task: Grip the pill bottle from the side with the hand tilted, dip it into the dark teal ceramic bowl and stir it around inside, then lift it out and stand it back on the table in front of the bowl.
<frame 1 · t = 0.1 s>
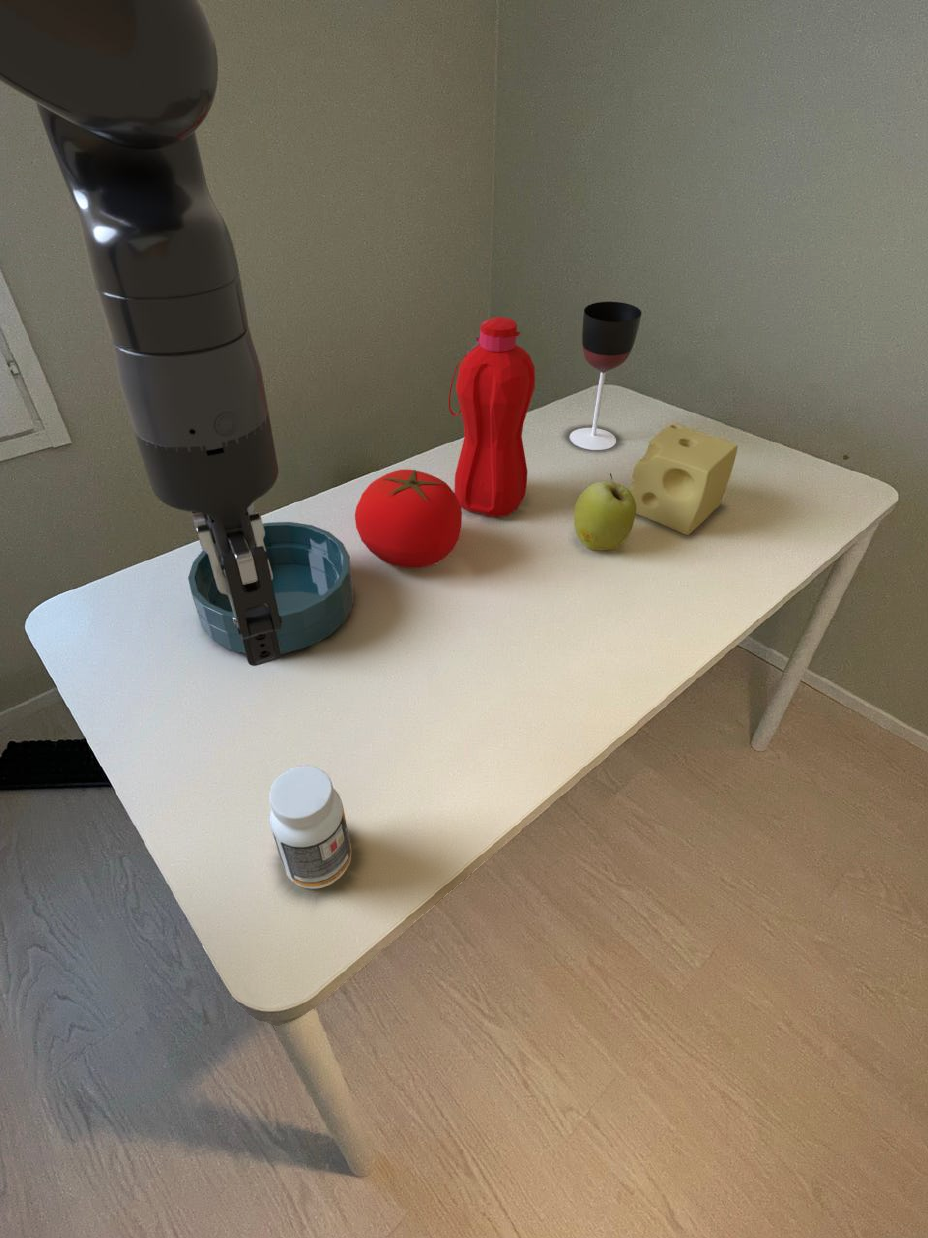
hand: (250, 622, 51), 20 cm above the table, tool pointing down, fingers open, 8 cm apart
wineglass: (592, 439, 115), on the table
cheese: (673, 509, 100), on the table
pill bottle: (318, 860, 59), on the table
apple: (599, 543, 93), on the table
water bottle: (484, 500, 100), on the table
bowl: (278, 606, 82), on the table
tomato: (411, 554, 91), on the table
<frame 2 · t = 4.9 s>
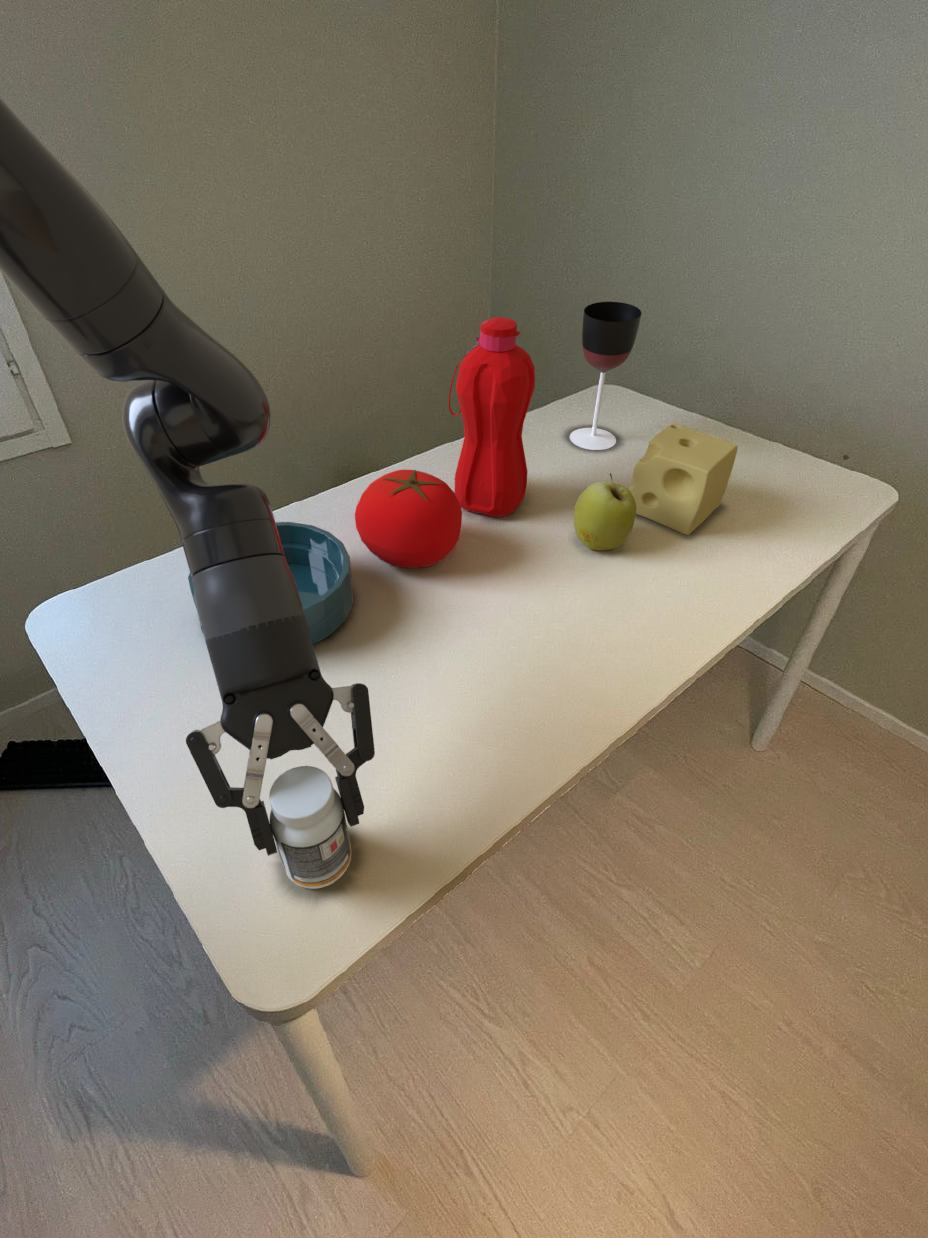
hand: (313, 836, 54), 6 cm above the table, tool tilted 45°, fingers closed on pill bottle, 5 cm apart
pill bottle: (318, 860, 59), on the table, touching gripper
everything else where it was.
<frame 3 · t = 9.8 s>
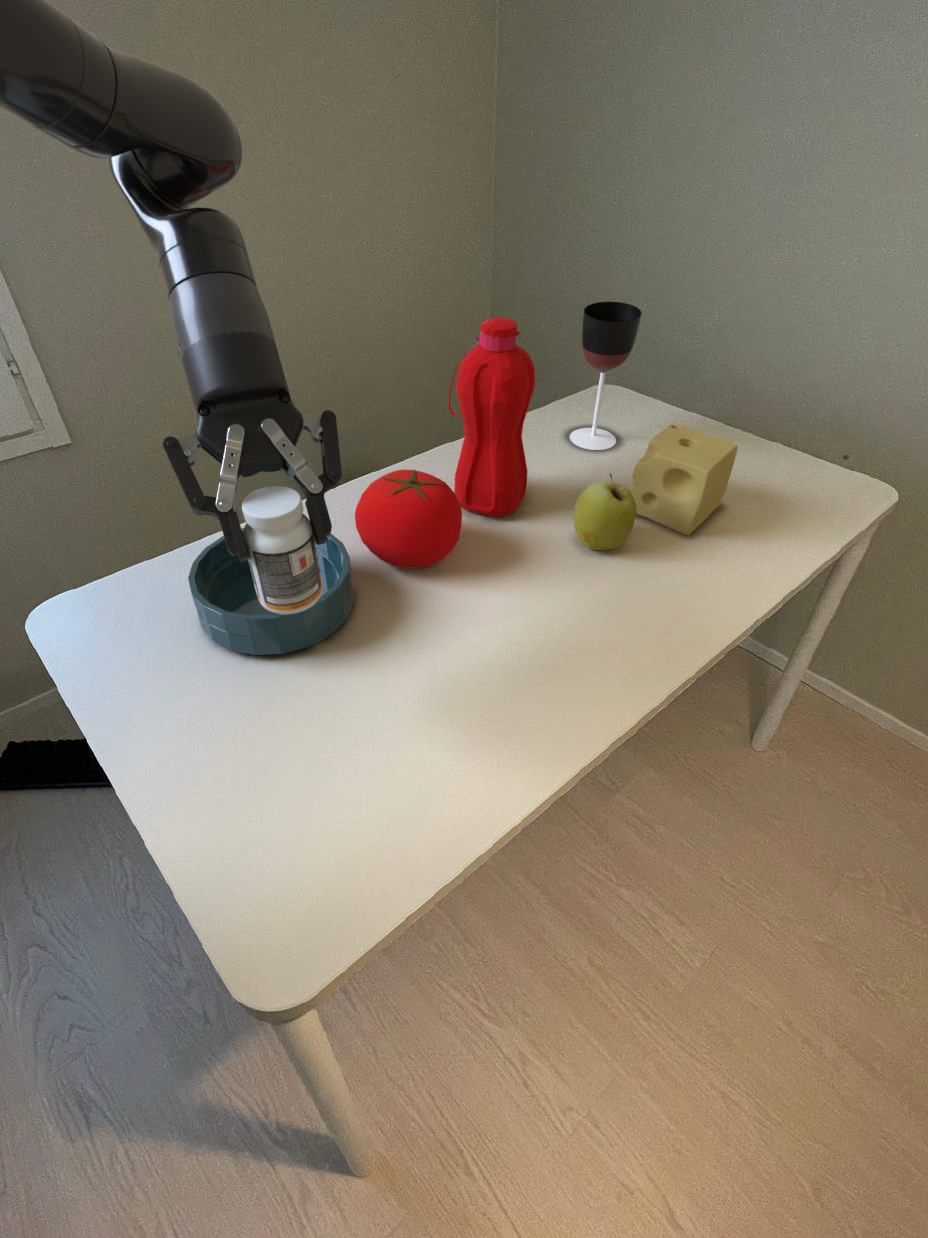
hand: (284, 550, 57), 20 cm above the table, tool tilted 45°, fingers closed on pill bottle, 5 cm apart
pill bottle: (291, 597, 63), point 14 cm above the table, touching gripper
everything else where it was.
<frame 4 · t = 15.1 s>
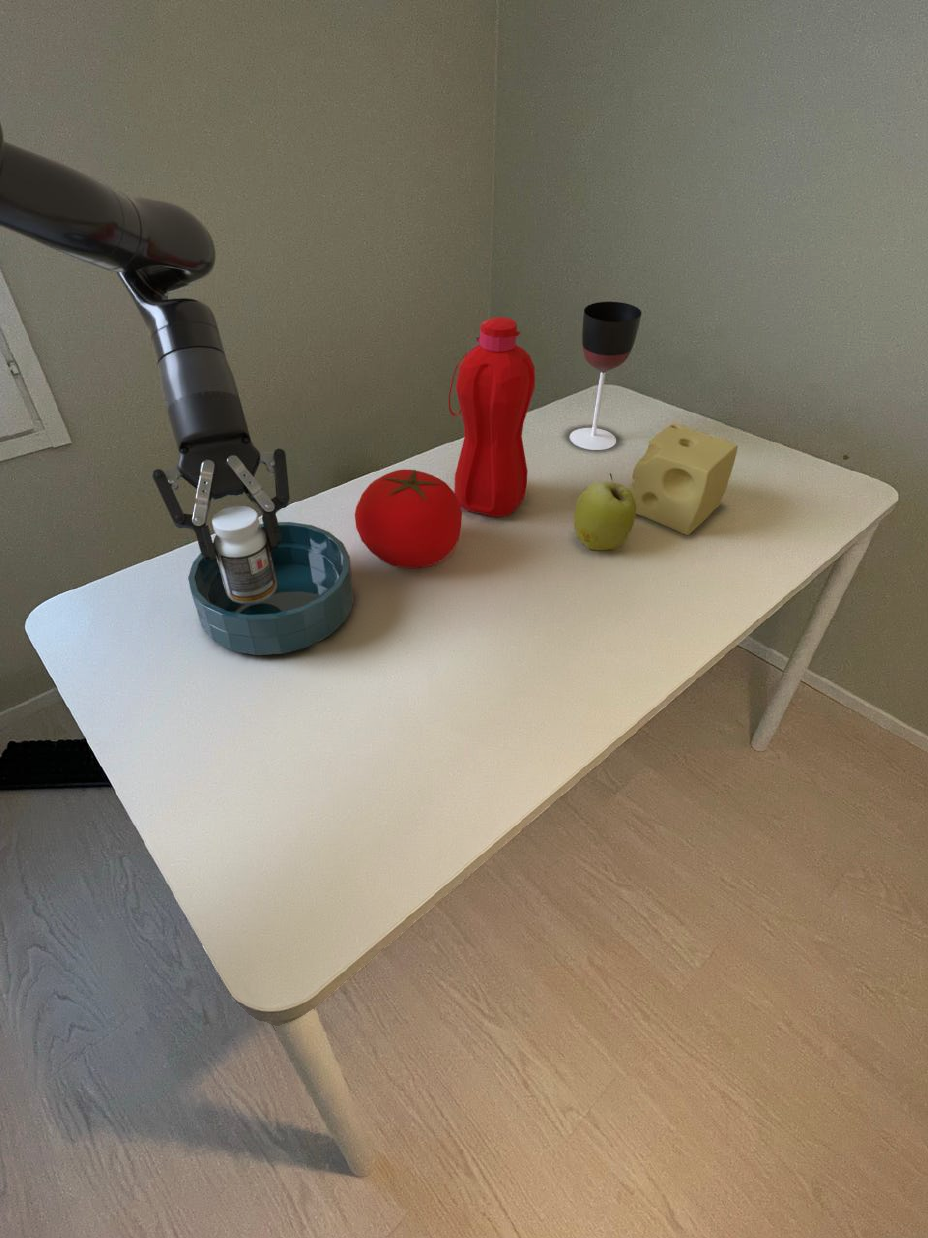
hand: (244, 554, 75), 9 cm above the table, tool tilted 45°, fingers closed on pill bottle, 5 cm apart
pill bottle: (252, 591, 80), point 3 cm above the table, touching gripper
everything else where it was.
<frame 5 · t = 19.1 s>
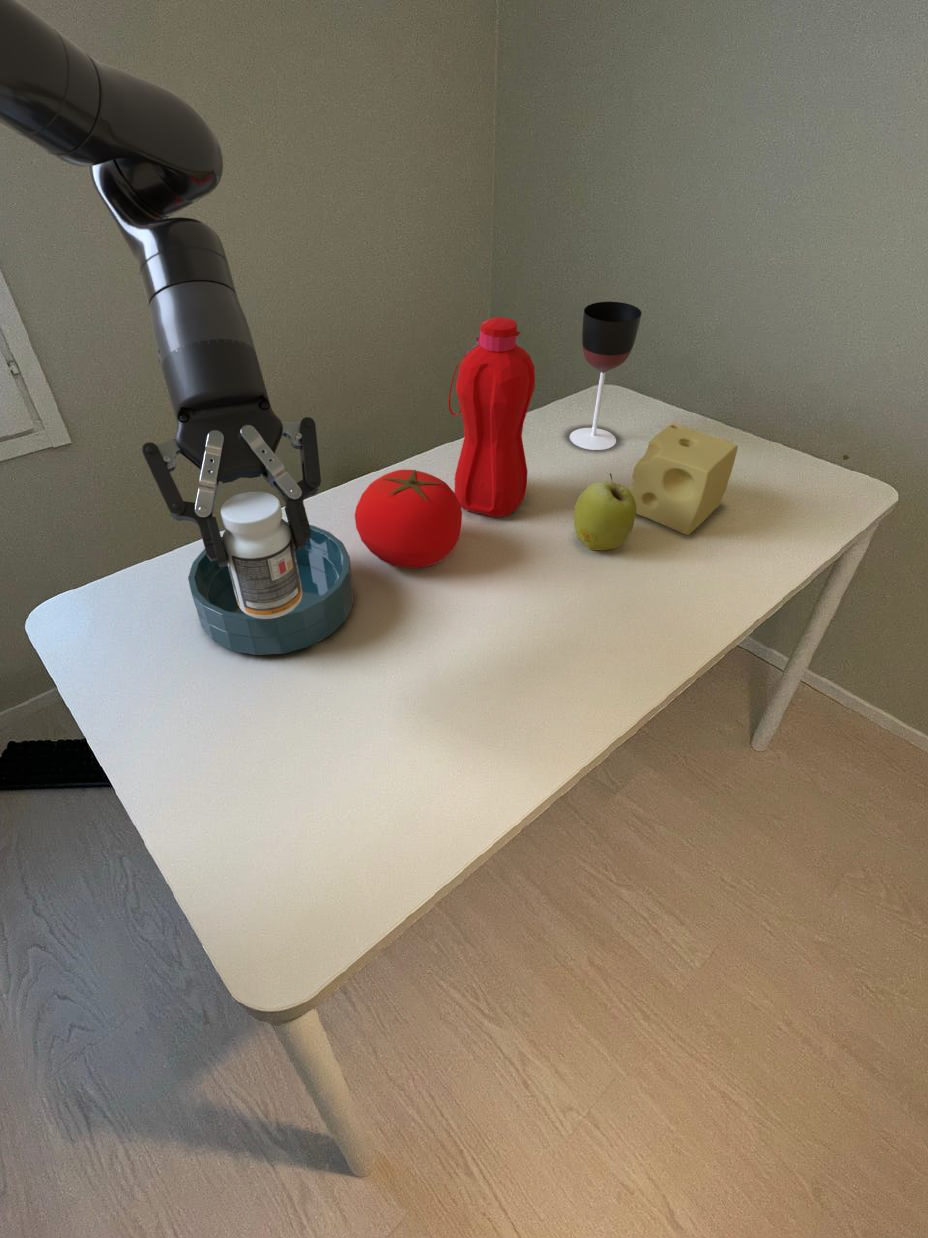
hand: (263, 555, 57), 20 cm above the table, tool tilted 45°, fingers closed on pill bottle, 5 cm apart
pill bottle: (270, 602, 63), point 13 cm above the table, touching gripper
everything else where it was.
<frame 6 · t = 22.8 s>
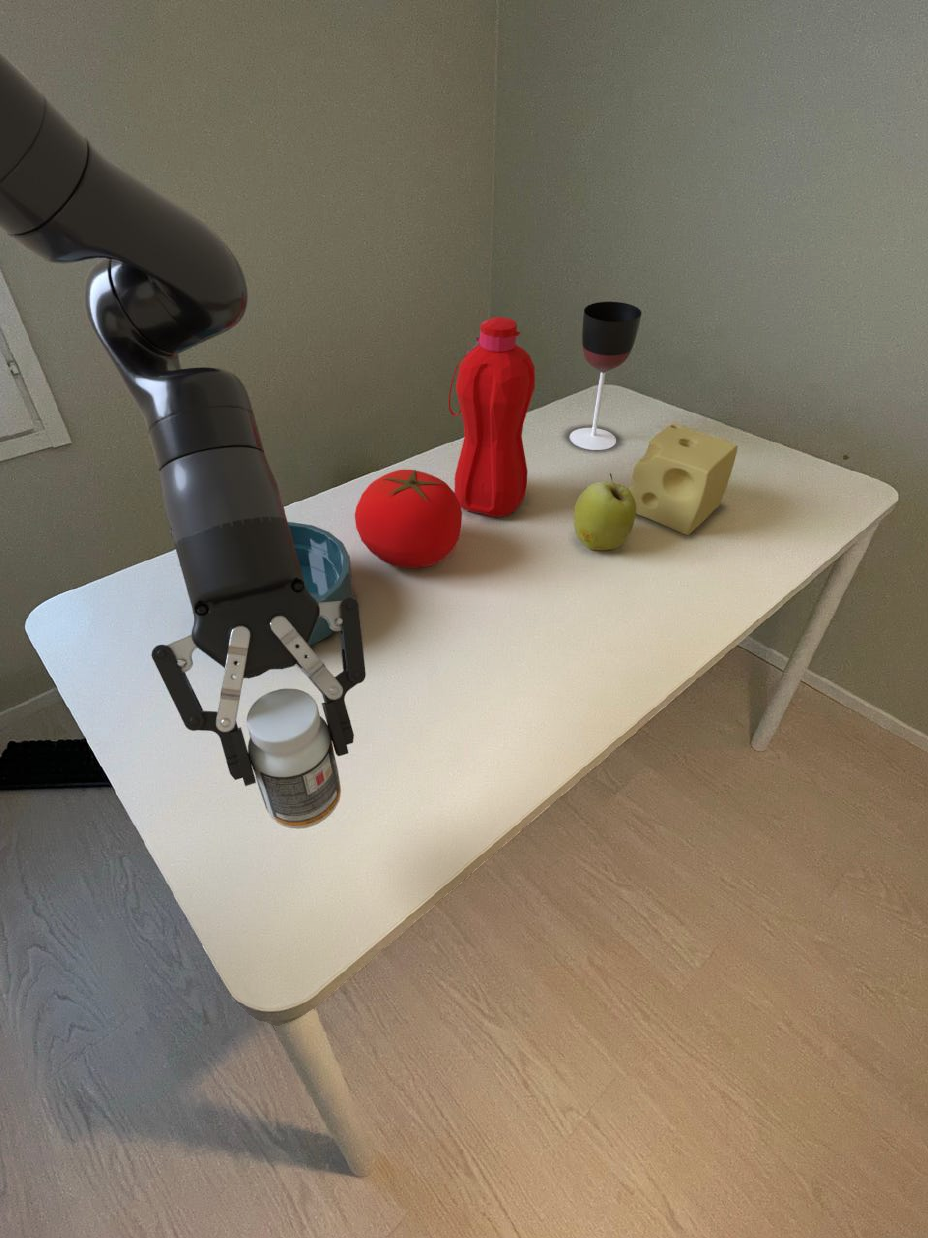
hand: (297, 767, 48), 15 cm above the table, tool tilted 45°, fingers closed on pill bottle, 5 cm apart
pill bottle: (304, 800, 53), point 8 cm above the table, touching gripper
everything else where it was.
when the fingers open (6 cm above the table, at t = 25.6 s): pill bottle stays where it is, on the table.
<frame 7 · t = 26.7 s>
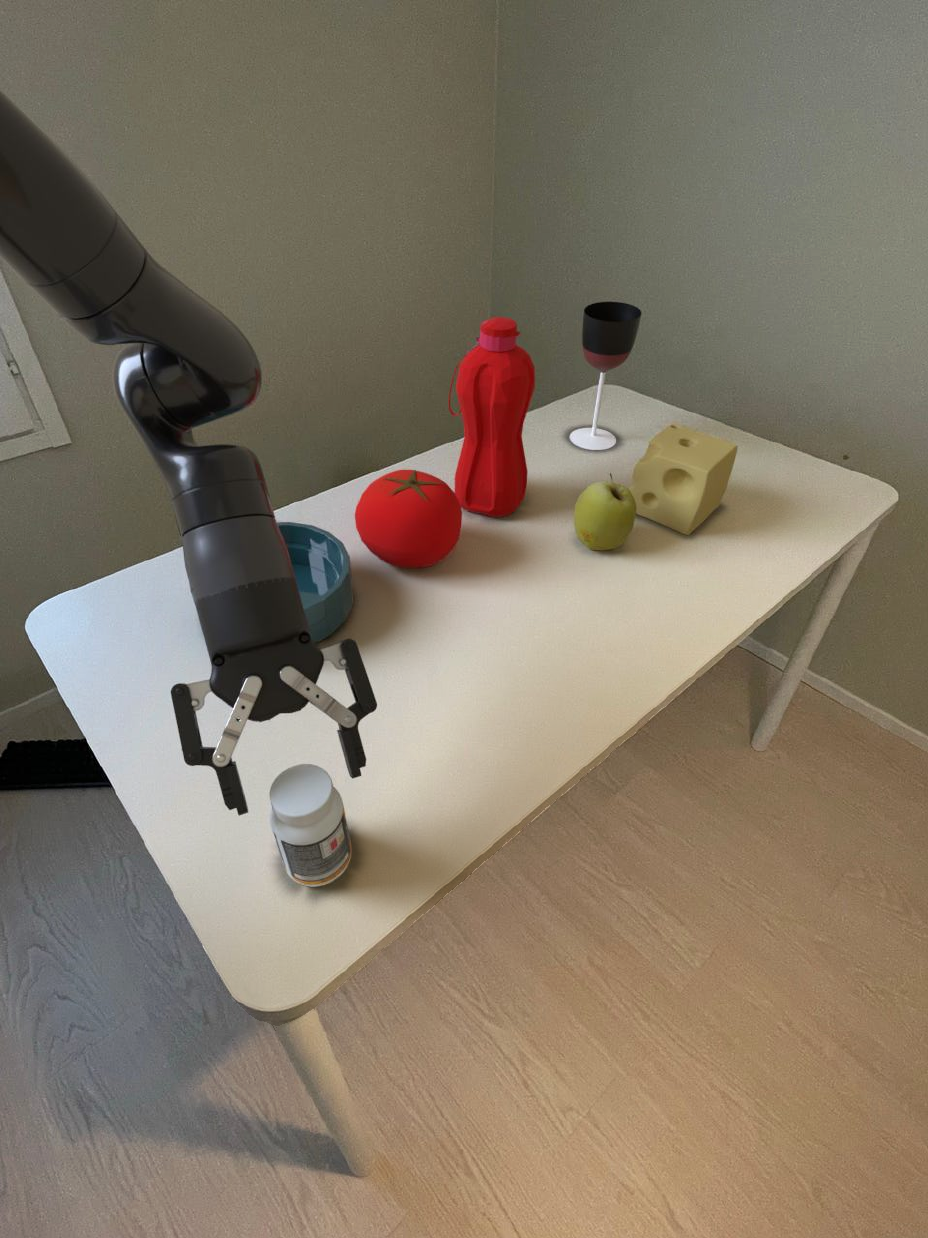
hand: (301, 793, 53), 9 cm above the table, tool tilted 45°, fingers open, 8 cm apart
pill bottle: (318, 858, 59), on the table
everything else where it was.
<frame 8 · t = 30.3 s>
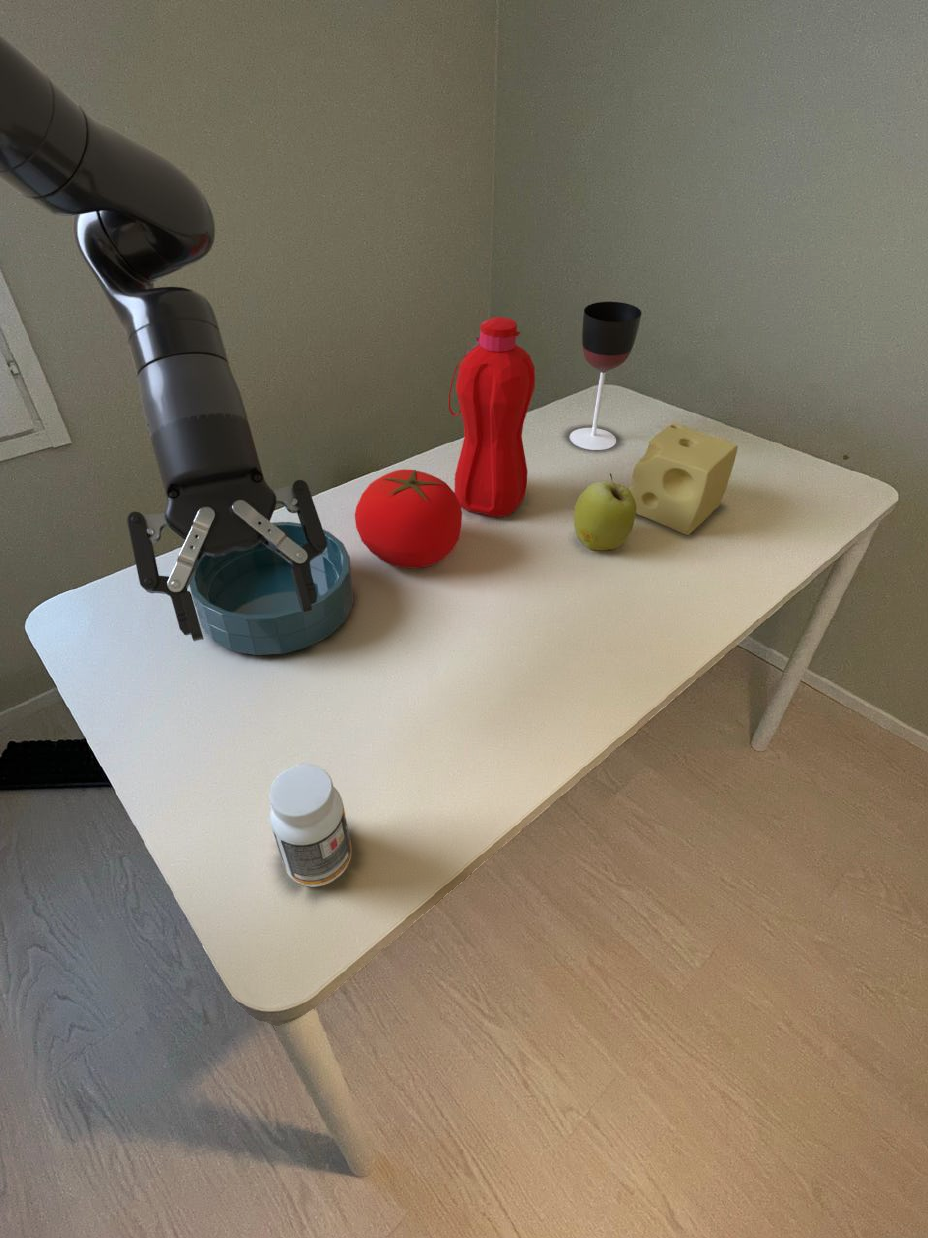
hand: (254, 625, 56), 17 cm above the table, tool tilted 45°, fingers open, 8 cm apart
nothing on the table moved.
at the end: pill bottle tilted 0°; the gripper is holding nothing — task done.
